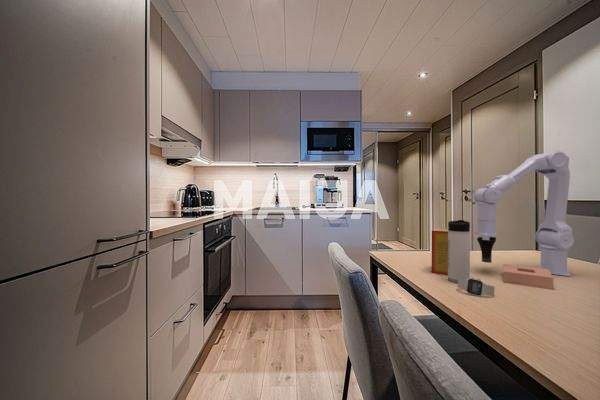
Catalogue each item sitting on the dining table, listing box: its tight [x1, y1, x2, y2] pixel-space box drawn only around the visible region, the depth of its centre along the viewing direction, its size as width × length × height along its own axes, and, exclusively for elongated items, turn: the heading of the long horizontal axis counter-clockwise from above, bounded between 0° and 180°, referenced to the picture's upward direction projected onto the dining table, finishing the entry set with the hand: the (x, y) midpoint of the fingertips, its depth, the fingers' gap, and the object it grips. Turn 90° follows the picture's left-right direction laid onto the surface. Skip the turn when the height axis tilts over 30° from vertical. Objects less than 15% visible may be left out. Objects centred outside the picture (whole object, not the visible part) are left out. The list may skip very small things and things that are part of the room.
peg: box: [481, 252, 493, 264], centre depth 101 cm, size 3×3×7 cm
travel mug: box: [447, 219, 471, 284], centre depth 91 cm, size 6×7×20 cm
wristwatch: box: [456, 276, 496, 297], centre depth 80 cm, size 9×6×5 cm
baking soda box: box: [431, 227, 448, 276], centre depth 102 cm, size 10×6×16 cm
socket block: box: [502, 263, 554, 290], centre depth 91 cm, size 12×12×4 cm
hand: (486, 257), depth 101 cm, fingers closed on peg, 3 cm apart
